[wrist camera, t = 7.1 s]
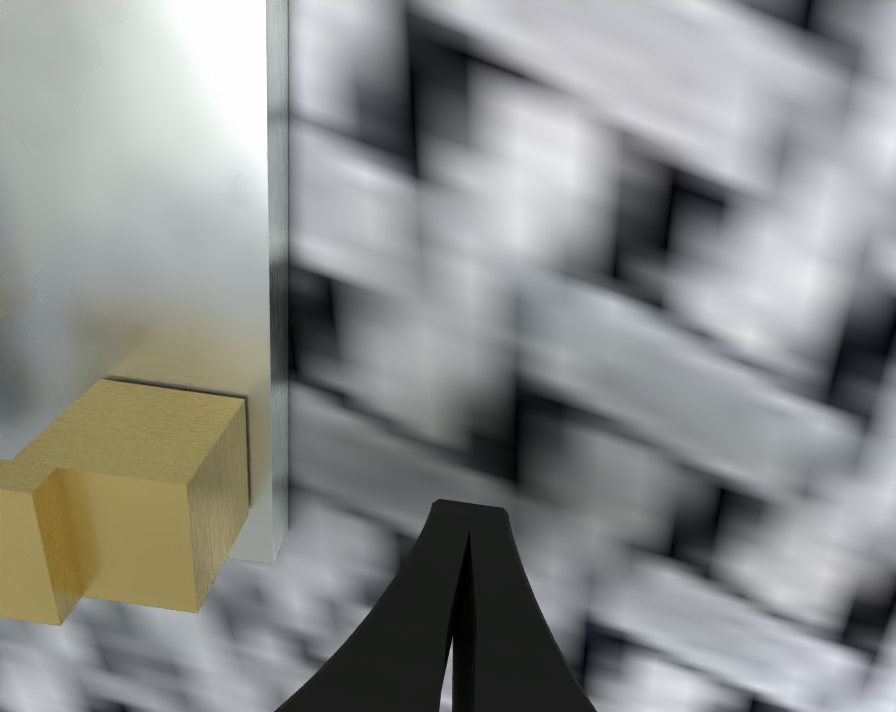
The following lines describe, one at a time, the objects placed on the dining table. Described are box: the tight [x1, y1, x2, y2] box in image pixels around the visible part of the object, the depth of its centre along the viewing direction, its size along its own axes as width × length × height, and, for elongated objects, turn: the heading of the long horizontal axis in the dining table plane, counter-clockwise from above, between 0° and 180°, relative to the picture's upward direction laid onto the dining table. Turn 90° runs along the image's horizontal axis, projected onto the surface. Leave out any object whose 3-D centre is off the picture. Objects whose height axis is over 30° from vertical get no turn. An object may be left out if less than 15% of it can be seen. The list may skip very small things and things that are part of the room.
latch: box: [0, 379, 249, 626], centre depth 13 cm, size 3×5×4 cm, turn 84°
